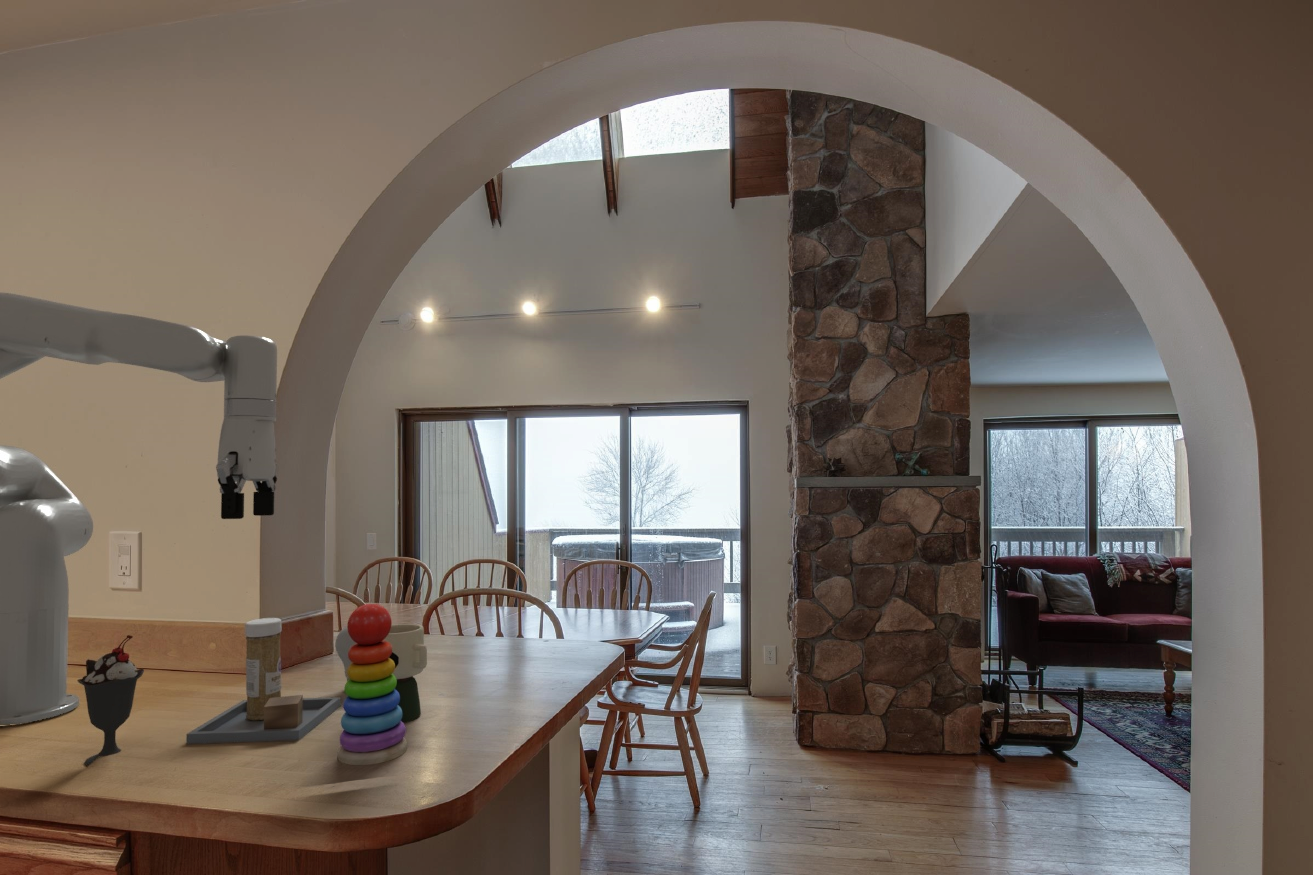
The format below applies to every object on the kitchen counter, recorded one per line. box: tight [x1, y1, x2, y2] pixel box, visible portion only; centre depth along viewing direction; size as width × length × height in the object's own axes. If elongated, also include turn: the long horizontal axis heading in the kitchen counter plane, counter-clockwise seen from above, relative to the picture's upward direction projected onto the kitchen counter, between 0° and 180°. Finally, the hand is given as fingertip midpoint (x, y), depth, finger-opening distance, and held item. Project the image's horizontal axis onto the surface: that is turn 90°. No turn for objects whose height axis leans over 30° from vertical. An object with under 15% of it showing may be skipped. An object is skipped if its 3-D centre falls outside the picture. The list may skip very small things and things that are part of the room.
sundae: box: [77, 634, 145, 767], centre depth 91 cm, size 7×7×15 cm
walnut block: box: [264, 694, 304, 729], centre depth 97 cm, size 4×4×4 cm
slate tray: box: [185, 696, 342, 745], centre depth 100 cm, size 14×14×2 cm
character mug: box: [383, 623, 428, 724], centre depth 102 cm, size 11×7×13 cm, turn 62°
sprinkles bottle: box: [244, 617, 283, 721], centre depth 103 cm, size 5×5×14 cm
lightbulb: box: [334, 625, 357, 682], centre depth 116 cm, size 6×6×11 cm
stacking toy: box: [337, 603, 408, 766], centre depth 89 cm, size 8×8×19 cm
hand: (248, 516), depth 118 cm, fingers open, 9 cm apart
